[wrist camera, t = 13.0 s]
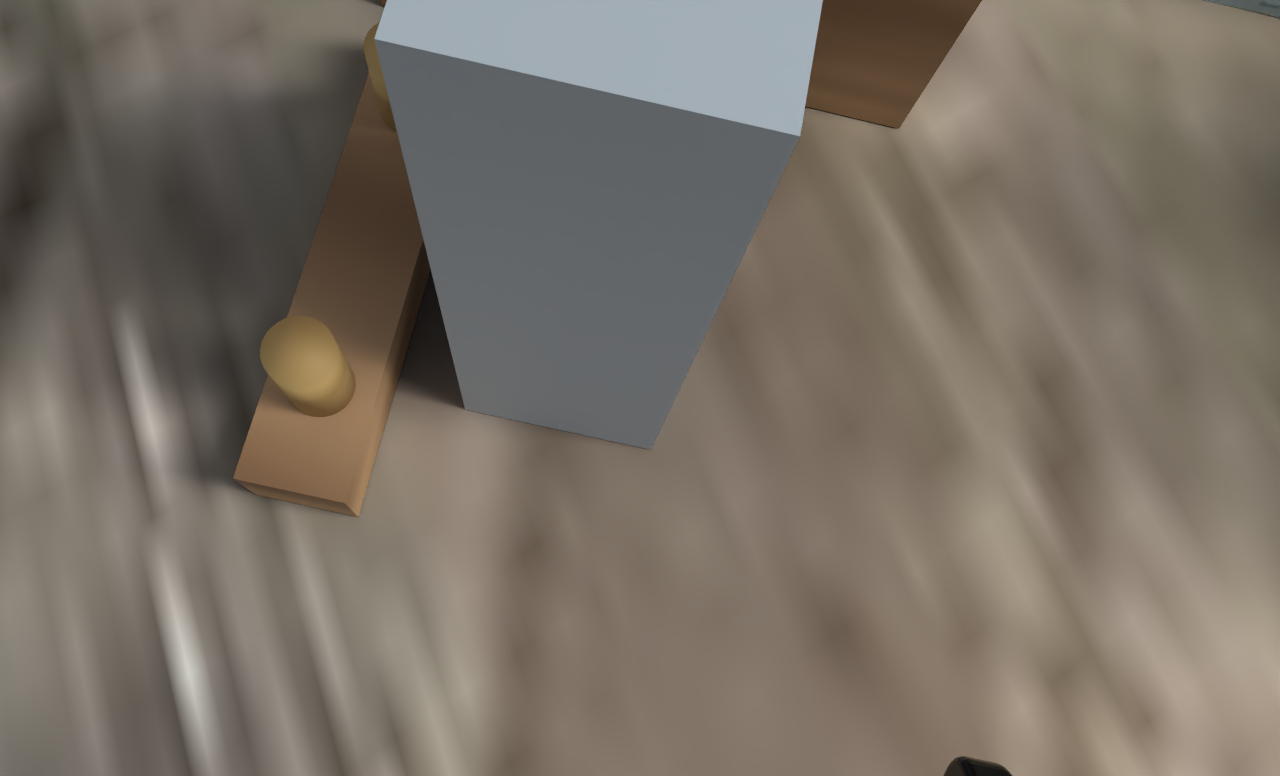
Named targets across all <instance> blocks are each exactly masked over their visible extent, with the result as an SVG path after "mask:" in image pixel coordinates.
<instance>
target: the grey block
mask: <svg viewBox="0 0 1280 776" xmlns="http://www.w3.org/2000/svg"><path fill="white" fill-rule="evenodd" d="M822 2H823V0H387V2H386V5H385V8H384V11H383V14H382V17H381V20H380V23H379V26H378V29H377V32H376V35H375V38H374V40H375V44H376V48H377V52H378V56H379V60H380V64H381V68H382V72H383V76H384V80H385V84H386V89H387V93H388V97H389V101H390V105H391V109H392V113H393V117H394V121H395V125H396V129H397V133H398V138H399V142H400V146H401V150H402V154H403V158H404V162H405V166H406V170H407V174H408V178H409V182H410V187H411V191H412V195H413V199H414V203H415V207H416V211H417V215H418V219H419V223H420V227H421V231H422V235H423V240H424V244H425V248H426V252H427V256H428V260H429V264H430V268H431V272H432V276H433V280H434V284H435V289H436V293H437V297H438V301H439V305H440V309H441V313H442V317H443V321H444V325H445V329H446V333H447V338H448V342H449V346H450V350H451V354H452V358H453V362H454V366H455V370H456V374H457V378H458V382H459V386H460V391H461V395H462V399H463V403H464V407H465V410H469V411H474V412H478V413H483V414H488V415H492V416H497V417H502V418H506V419H511V420H516V421H520V422H525V423H530V424H534V425H539V426H543V427H548V428H553V429H557V430H562V431H567V432H571V433H576V434H581V435H585V436H590V437H594V438H599V439H604V440H608V441H613V442H618V443H622V444H627V445H632V446H636V447H641V448H646V449H650V450H651V448H652V446H653V444H654V442H655V440H656V438H657V436H658V434H659V431H660V429H661V427H662V425H663V423H664V421H665V419H666V417H667V415H668V413H669V410H670V408H671V406H672V404H673V402H674V400H675V398H676V396H677V394H678V392H679V389H680V387H681V385H682V383H683V381H684V379H685V377H686V375H687V373H688V371H689V368H690V366H691V364H692V362H693V360H694V358H695V356H696V354H697V352H698V350H699V347H700V345H701V343H702V341H703V339H704V337H705V335H706V333H707V331H708V329H709V326H710V324H711V322H712V320H713V318H714V316H715V314H716V312H717V310H718V308H719V305H720V303H721V301H722V299H723V297H724V295H725V293H726V291H727V289H728V287H729V284H730V282H731V280H732V278H733V276H734V274H735V272H736V270H737V268H738V266H739V263H740V261H741V259H742V257H743V255H744V253H745V251H746V249H747V247H748V245H749V242H750V240H751V238H752V236H753V234H754V232H755V230H756V228H757V226H758V224H759V221H760V219H761V217H762V215H763V213H764V211H765V209H766V207H767V205H768V203H769V200H770V198H771V196H772V194H773V192H774V190H775V188H776V186H777V184H778V182H779V179H780V177H781V175H782V173H783V171H784V169H785V167H786V165H787V163H788V161H789V158H790V156H791V154H792V152H793V150H794V148H795V146H796V144H797V142H798V140H799V137H800V134H801V128H802V122H803V116H804V110H805V104H806V98H807V92H808V86H809V80H810V74H811V68H812V62H813V56H814V50H815V44H816V38H817V32H818V26H819V20H820V14H821V8H822Z"/></svg>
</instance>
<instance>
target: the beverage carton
mask: <svg viewBox="0 0 1280 776" xmlns="http://www.w3.org/2000/svg"><path fill="white" fill-rule="evenodd" d="M1203 1H1208V2H1212V3H1217V4H1221V5H1227V6H1232V7H1236V8H1241V9H1246V10H1250V11H1254V12H1259V13H1263V14H1267V15H1270V16H1274V17H1278V18H1280V0H1203Z"/></svg>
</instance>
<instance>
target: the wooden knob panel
mask: <svg viewBox="0 0 1280 776" xmlns="http://www.w3.org/2000/svg"><path fill="white" fill-rule="evenodd" d="M380 1H381V6H385V5H386V2H387V0H380ZM981 1H982V0H823V2H822V8H821V14H820V20H819V26H818V32H817V38H816V44H815V50H814V56H813V62H812V68H811V74H810V80H809V86H808V92H807V98H806V104H805V106H806V107H810V108H814V109H819V110H823V111H827V112H831V113H835V114H840V115H844V116H848V117H852V118H856V119H861V120H865V121H869V122H873V123H877V124H882V125H886V126H890V127H894V128H899V127H900V126H901V124H902V123H903V121H904V120H905V118H906V117H907V115H908V114H909V112H910V110H911V109H912V107H913V106H914V104H915V103H916V101H917V100H918V98H919V97H920V95H921V93H922V92H923V90H924V89H925V87H926V86H927V84H928V83H929V81H930V80H931V78H932V76H933V75H934V73H935V72H936V70H937V69H938V67H939V66H940V64H941V63H942V61H943V59H944V58H945V56H946V55H947V53H948V52H949V50H950V49H951V47H952V46H953V44H954V42H955V41H956V39H957V38H958V36H959V35H960V33H961V32H962V30H963V29H964V27H965V25H966V24H967V22H968V21H969V19H970V18H971V16H972V15H973V13H974V12H975V10H976V8H977V7H978V5H979V4H980V2H981ZM378 26H379V23H378V24H376V25H375V26H374V27H372V28H371V29H370V31H369V32H368V33H367V35H366V37H365V40H364V46H363V47H364V54H365V58H366V61H367V65H368V69H369V73H368V76H367V79H366V82H365V85H364V88H363V91H362V94H361V97H360V100H359V103H358V106H357V109H356V112H355V115H354V118H353V121H352V124H351V127H350V130H349V133H348V136H347V139H346V142H345V145H344V148H343V151H342V154H341V157H340V160H339V163H338V166H337V169H336V172H335V175H334V178H333V181H332V184H331V187H330V190H329V193H328V196H327V199H326V202H325V205H324V208H323V211H322V214H321V217H320V220H319V223H318V226H317V229H316V232H315V235H314V238H313V241H312V244H311V247H310V250H309V253H308V255H307V258H306V261H305V264H304V267H303V270H302V273H301V276H300V279H299V282H298V285H297V288H296V291H295V294H294V297H293V300H292V303H291V306H290V309H289V312H288V315H287V318H285V319H283V320H281V321H279V322H277V323H276V324H275V325H273V326H272V327H271V328H270V329H269V330H268V331H267V333H266V334H265V336H264V338H263V340H262V342H261V346H260V359H261V362H262V365H263V367H264V369H265V370H266V372H267V373H268V375H267V378H266V381H265V384H264V387H263V390H262V393H261V396H260V399H259V402H258V405H257V408H256V411H255V414H254V417H253V420H252V423H251V426H250V429H249V432H248V435H247V438H246V441H245V444H244V447H243V450H242V453H241V456H240V459H239V462H238V465H237V468H236V471H235V474H234V477H233V479H234V480H236V481H237V482H238V483H240V484H241V485H243V486H244V487H245V488H247V489H248V490H250V491H251V492H252V493H254V494H255V495H260V496H264V497H269V498H273V499H278V500H283V501H287V502H292V503H296V504H301V505H306V506H310V507H315V508H319V509H324V510H328V511H333V512H338V513H342V514H347V515H351V516H356V517H359V513H360V510H361V507H362V503H363V500H364V496H365V493H366V489H367V486H368V483H369V479H370V476H371V472H372V469H373V466H374V462H375V459H376V455H377V452H378V448H379V445H380V442H381V438H382V435H383V431H384V428H385V424H386V421H387V418H388V414H389V411H390V407H391V404H392V400H393V397H394V394H395V390H396V387H397V383H398V380H399V376H400V373H401V370H402V366H403V363H404V359H405V356H406V353H407V349H408V346H409V342H410V339H411V335H412V332H413V329H414V325H415V322H416V318H417V315H418V311H419V308H420V305H421V301H422V298H423V294H424V291H425V287H426V284H427V281H428V277H429V274H430V270H431V268H430V264H429V260H428V256H427V252H426V248H425V244H424V240H423V235H422V231H421V227H420V223H419V219H418V215H417V211H416V207H415V203H414V199H413V195H412V191H411V187H410V182H409V178H408V174H407V170H406V166H405V162H404V158H403V154H402V150H401V146H400V142H399V138H398V133H397V129H396V125H395V121H394V117H393V113H392V109H391V105H390V101H389V97H388V93H387V89H386V84H385V80H384V76H383V72H382V68H381V64H380V60H379V56H378V52H377V48H376V44H375V40H374V38H375V35H376V32H377V29H378Z"/></svg>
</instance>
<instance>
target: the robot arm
mask: <svg viewBox="0 0 1280 776" xmlns="http://www.w3.org/2000/svg"><path fill="white" fill-rule="evenodd" d="M944 776H1012V774H1011V773H1010V772H1009V771H1008V770H1007V769H1006V768H1004V767H1003V766H1002V765H999V764H997V763H993V762H989V761H984V760H979V759H975V758H970V757H965V756H962V757H957V758H955V759H954V760H953V761H952V762H951V763H950V765H949V766H948V768H947V770H946V772H945V774H944Z"/></svg>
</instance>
